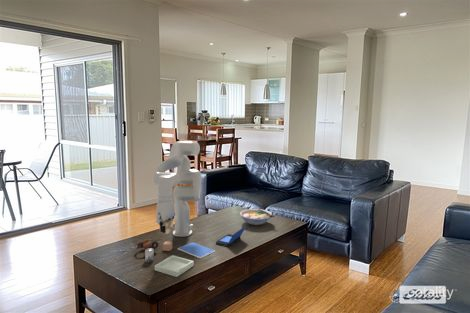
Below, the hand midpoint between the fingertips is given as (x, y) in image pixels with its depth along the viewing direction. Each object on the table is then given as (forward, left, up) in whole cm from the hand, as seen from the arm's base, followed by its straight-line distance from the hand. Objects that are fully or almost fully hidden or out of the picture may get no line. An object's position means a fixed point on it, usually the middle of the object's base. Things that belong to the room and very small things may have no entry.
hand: (166, 230), depth 181 cm
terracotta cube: (-8, -6, -15) cm, 18 cm away
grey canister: (+8, -5, -15) cm, 18 cm away
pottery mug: (+1, -13, -15) cm, 20 cm away
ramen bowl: (-74, +19, -15) cm, 78 cm away
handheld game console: (-36, +20, -16) cm, 44 cm away
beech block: (0, 0, -1) cm, 1 cm away
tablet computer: (-15, +9, -16) cm, 24 cm away
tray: (+8, +12, -15) cm, 21 cm away
